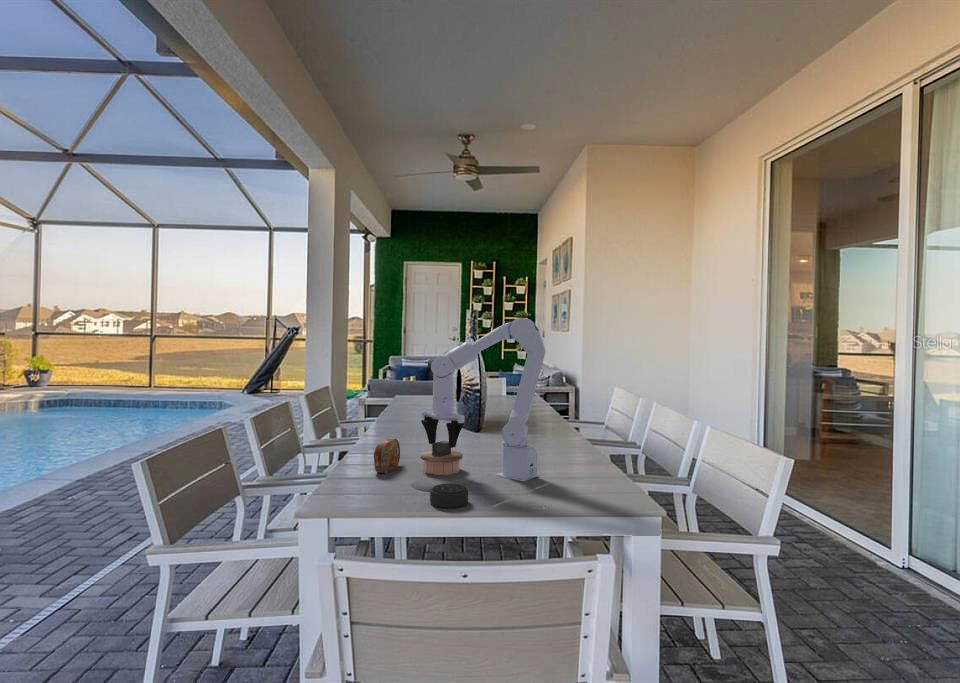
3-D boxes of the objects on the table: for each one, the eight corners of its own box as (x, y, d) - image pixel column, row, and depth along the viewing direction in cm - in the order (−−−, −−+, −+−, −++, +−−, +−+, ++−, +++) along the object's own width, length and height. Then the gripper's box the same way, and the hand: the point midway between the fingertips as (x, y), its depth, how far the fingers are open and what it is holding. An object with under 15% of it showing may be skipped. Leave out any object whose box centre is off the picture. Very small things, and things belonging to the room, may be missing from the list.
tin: (382, 477, 156) (382, 446, 156) (371, 476, 157) (372, 445, 157) (400, 464, 171) (401, 436, 171) (391, 463, 172) (391, 435, 171)
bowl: (466, 470, 164) (466, 456, 164) (443, 477, 156) (444, 463, 156) (439, 465, 170) (440, 451, 170) (417, 471, 162) (417, 457, 162)
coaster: (475, 484, 150) (475, 483, 150) (441, 496, 139) (441, 495, 139) (435, 475, 158) (435, 474, 158) (399, 486, 147) (399, 485, 147)
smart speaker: (427, 500, 137) (427, 483, 136) (464, 498, 139) (464, 481, 138) (432, 512, 128) (433, 494, 128) (471, 509, 130) (471, 492, 130)
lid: (470, 456, 164) (471, 442, 164) (443, 464, 155) (444, 449, 155) (439, 450, 172) (439, 436, 171) (411, 457, 162) (411, 443, 162)
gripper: (414, 397, 164) (413, 444, 164) (453, 401, 155) (452, 451, 156) (430, 394, 170) (430, 440, 170) (469, 399, 161) (468, 447, 161)
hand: (442, 445), depth 163 cm, fingers open, 7 cm apart
